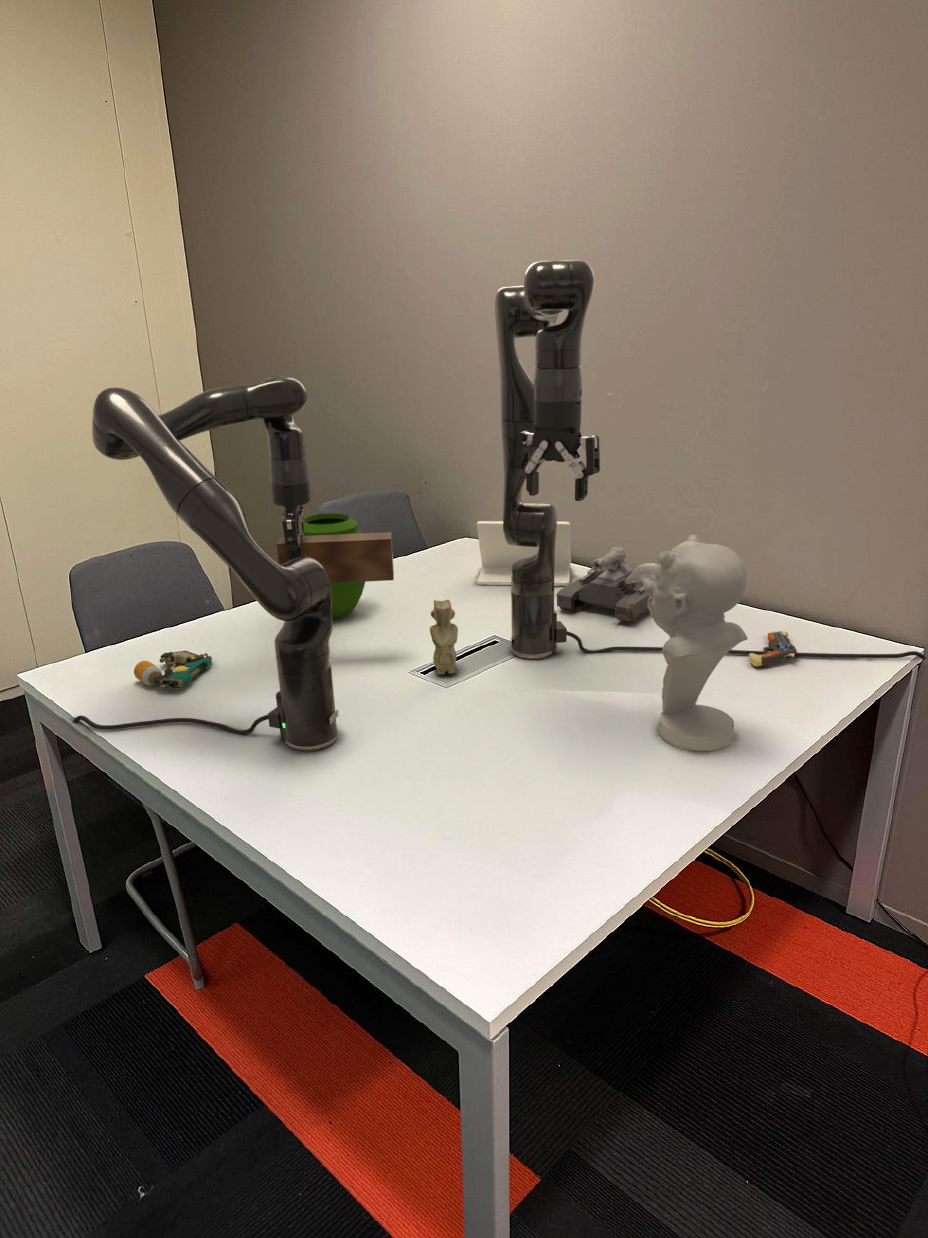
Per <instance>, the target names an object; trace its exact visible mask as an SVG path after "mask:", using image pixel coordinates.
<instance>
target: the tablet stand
mask: <svg viewBox="0 0 928 1238" xmlns="http://www.w3.org/2000/svg"><path fill="white" fill-rule="evenodd" d="M476 531H477V537H478V544H479V551H480V557H481V558H480V559H481V570H480V573H479V575H478V577H477V580H476V581H477V582H476V584H478V585H484V586H485V585H486V586H487V585H489V586H490V585H491V586H511V567H512V565H513V563H515V562H516V561H518V560H521V559H524V558H528V557H531V556H533V555H535V554H537V553H538V547H524V546H513V545H509V544H508V543H507V542H506V540H505V538H504V532H503V520H477V522H476ZM571 560H572V558H571V522H569V521H557V529H556V542H555V567H554V587H556V586H557V587H566V586H567V585H569V584H570V580H571V579H570V578H571V565H572V564H571Z"/></svg>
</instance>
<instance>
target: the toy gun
mask: <svg viewBox="0 0 928 1238" xmlns="http://www.w3.org/2000/svg"><path fill="white" fill-rule="evenodd" d="M789 636H790V634H789V632H788V631H786V630H784V631H781V630H778V631H773V632H768V633H767V639H768V641H769V642H768V645H767V646H764V647H763V649H762V651H763V654H758V655H756V654H754V653H750V654H749V655H748V658H749V662H750V663H751V665H752V666H754V667H760V666H764V665H768V664H771V663H775V662H777V661H781V660H785V659H786V658H789V657H791V656H792V658H795V657H794V655H795V653H799V651H798V649H797V648H796V646H795V645H794V644H792V643H791V642H790V639H789V638H788V637H789ZM767 651H768V652H767Z"/></svg>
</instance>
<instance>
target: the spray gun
mask: <svg viewBox="0 0 928 1238" xmlns="http://www.w3.org/2000/svg"><path fill="white" fill-rule="evenodd" d="M212 660H213V657H212V656H211V655H208V653H207V652H205V653H201V654H197V653H194V652H192V651H191V652H190V651H188V650H180V651H169V652H164V653H162V654H161V655H160V658H159V660H158V662H159V663H161V664H163V663H165V664H166V668H165V670H163V672H164V674H163V673H162V669H160V668H159V666H157V665H156V664H154V663H152V662H151V661H149V660H141V661H139V662H138V663H136V665H135V666H134V668H133V675H134V677H135V678H136V679H137V680H139V681H140V682H142V683H143V684H145V685H147V686H155V685H157V686H158V687H160V688H161V689H171V690H172V689H173V690H182V689H184V687H185V686H186V685H188V684H189V683H190V682H191V681H192V679H193V678H195V677H196V676H197V675H198V674H200V673H201V672H202V671H203V670H206V669H208V668H209V667H210V666H211V665H212V662H213V661H212ZM178 663H179V664H181V665H179V666H176V665H177V664H178Z"/></svg>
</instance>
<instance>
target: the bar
mask: <svg viewBox="0 0 928 1238" xmlns="http://www.w3.org/2000/svg"><path fill="white" fill-rule="evenodd" d="M290 541H295V538H294V537H290ZM393 549H394V548H393V533H392V531H385V532H384V531H383V532H364V533H363V532H362V533H359V534H337V535H315V536H300V556H301V557H303V556H305V557H311V558H313V559H315V560H317V561H318V562H319V563H320V564H321V565H322V566H323V568H324V569H325V571H326V573H327V575H328V578H329V582H330V583H347V582H365V583H366V582H386V581H394V578H395V577H394V576H395V567H394V566H395V565H394V552H393V551H394V550H393ZM276 552H277V561H278V562H277V563H278V564H279V565H281V564H283V563H285V562H288V561H289V550H288V548H287V547H286V546H285V537H284V536H279V538H278V540H277V542H276Z"/></svg>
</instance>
